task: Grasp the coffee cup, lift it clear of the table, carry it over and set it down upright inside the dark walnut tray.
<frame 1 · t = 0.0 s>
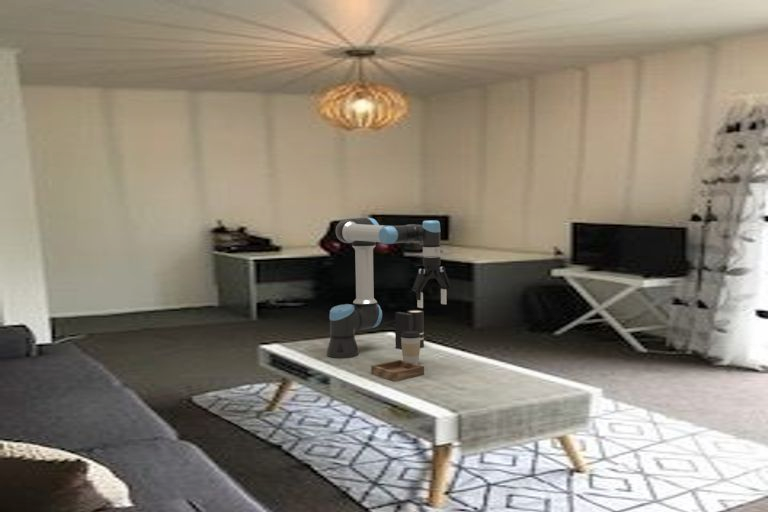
hand: (432, 305, 299), 28 cm above the table, fingers open, 13 cm apart
light fixture: (411, 347, 345), on the table
coffee cup: (411, 364, 313), on the table
tray: (397, 374, 295), on the table
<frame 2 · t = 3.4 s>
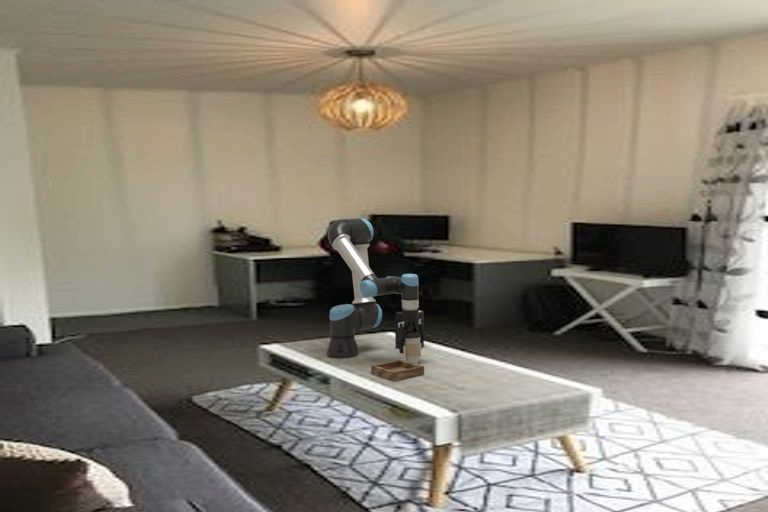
hand: (410, 358, 312), 2 cm above the table, fingers closed on coffee cup, 8 cm apart
coffee cup: (411, 364, 313), on the table, touching gripper
everything else where it was.
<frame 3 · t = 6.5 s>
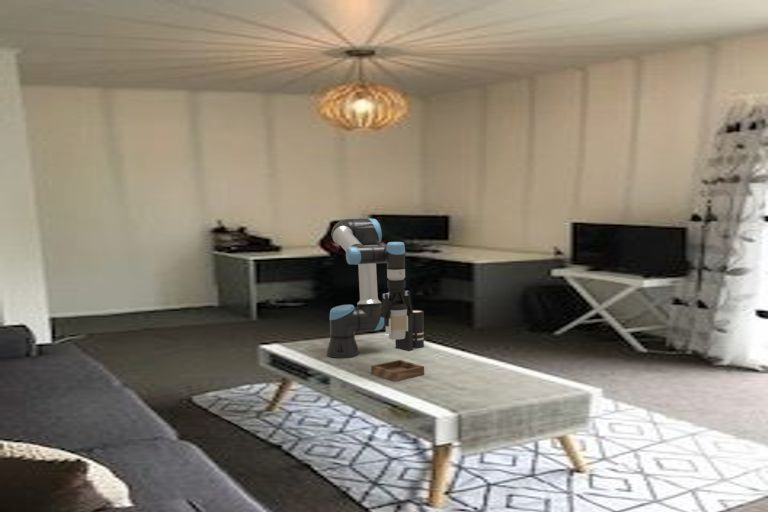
hand: (397, 332, 293), 18 cm above the table, fingers closed on coffee cup, 8 cm apart
coffee cup: (397, 338, 293), point 16 cm above the table, touching gripper
everything else where it was.
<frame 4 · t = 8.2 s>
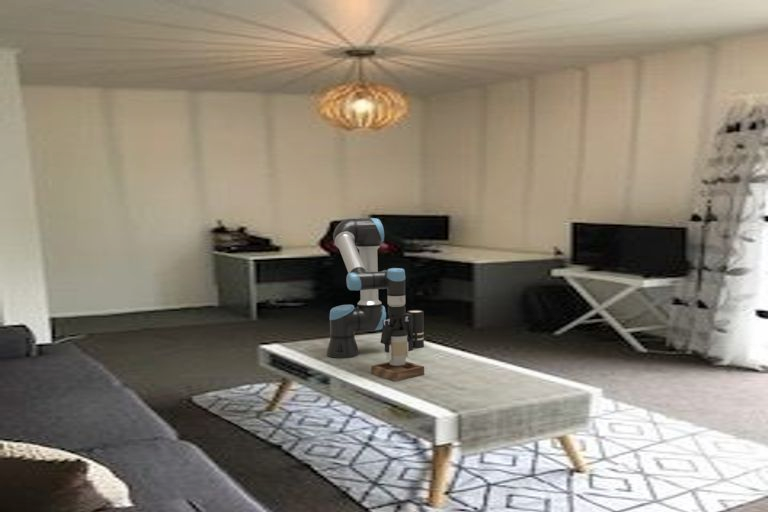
hand: (397, 358, 294), 7 cm above the table, fingers closed on coffee cup, 8 cm apart
coffee cup: (397, 364, 294), point 4 cm above the table, touching gripper
everything else where it was.
when the fingers open (5 cm above the table, at t = 9.6 s): coffee cup drops 1 cm, resting on tray.
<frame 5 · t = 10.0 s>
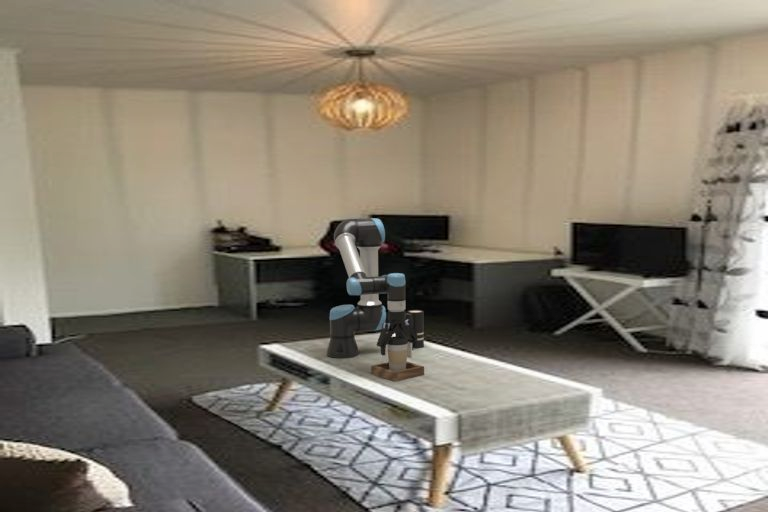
hand: (397, 359, 294), 6 cm above the table, fingers open, 13 cm apart
coffee cup: (397, 372, 295), point 1 cm above the table, touching tray
everything else where it was.
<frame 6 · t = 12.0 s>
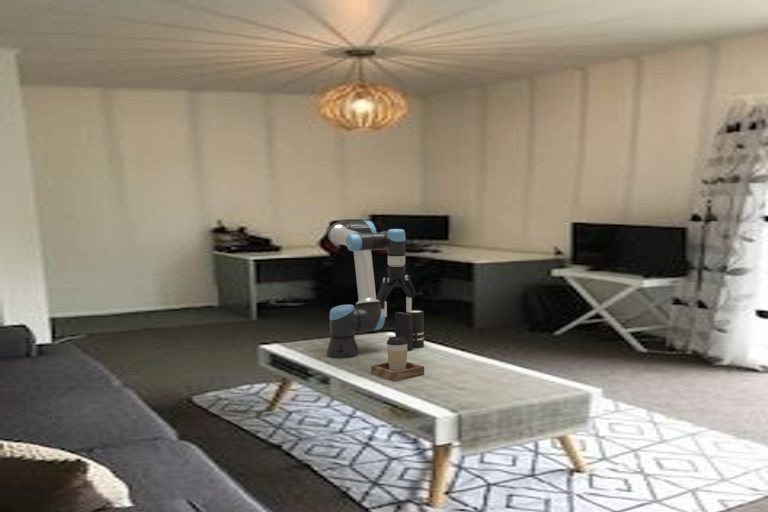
hand: (396, 314, 300), 25 cm above the table, fingers open, 13 cm apart
nothing on the table moved.
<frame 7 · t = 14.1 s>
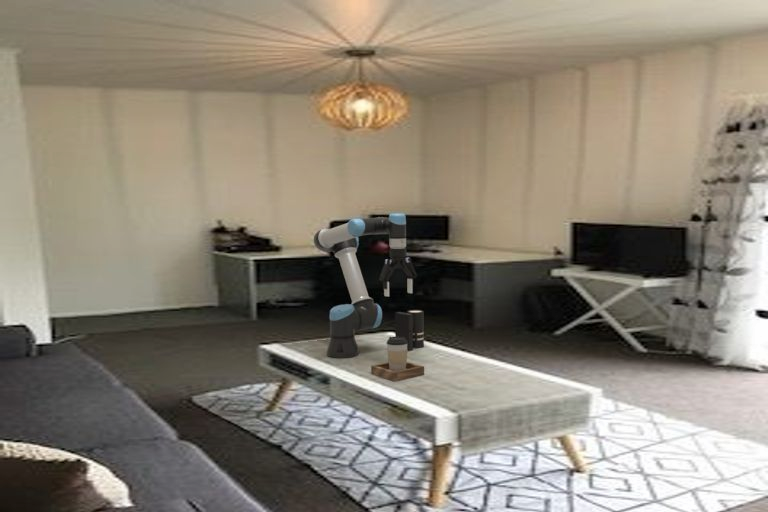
hand: (398, 294, 314), 31 cm above the table, fingers open, 13 cm apart
nothing on the table moved.
at the end: coffee cup inside the target area on the tray (0.1 cm from its centre), point 0.8 cm above the tray's base; coffee cup tilted 0°; the gripper is holding nothing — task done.
